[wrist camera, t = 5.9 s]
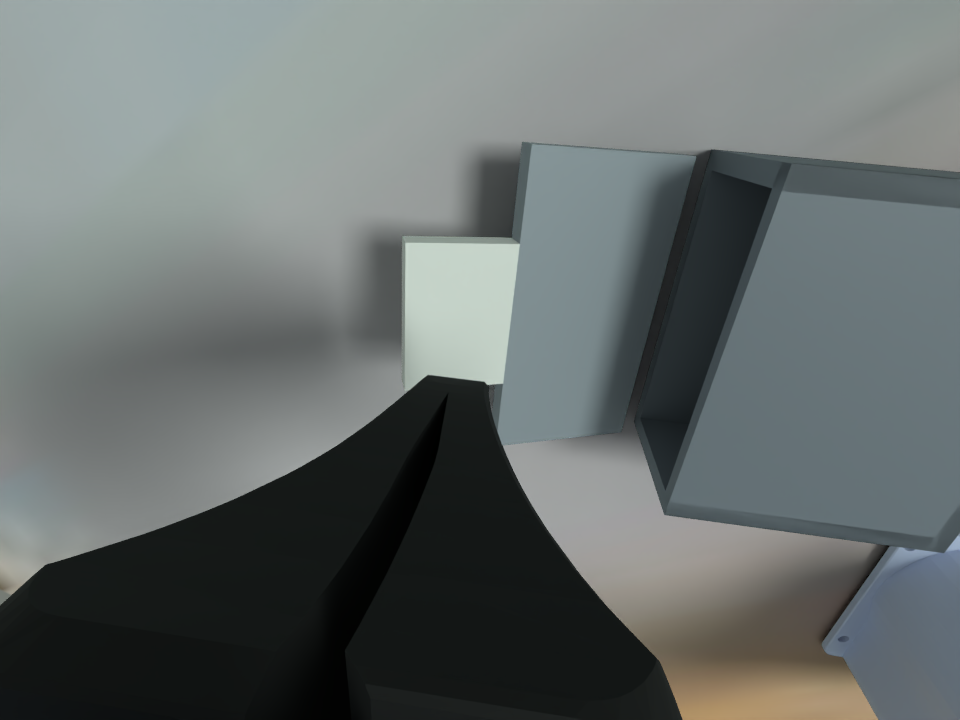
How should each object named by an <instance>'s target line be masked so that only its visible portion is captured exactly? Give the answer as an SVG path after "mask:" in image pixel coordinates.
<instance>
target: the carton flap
mask: <svg viewBox="0 0 960 720" xmlns="http://www.w3.org/2000/svg"><path fill="white" fill-rule="evenodd" d="M695 160H696V156H691V155H684V154H675V153H662V152H649V151H635V150H622V149H609V148H596V147H582V146H569V145H556V144H542V143H529V142H522V148H521V157H520V166H519V175H518V184H517V193H516V202H515V211H514V220H513V229H512V238H504V237H442V236H402V382H403V386H404V390H405V391H409V390H410V389H411V388H413V387H414V386H415V385H416V384H417V383H418V382H419V381H421V380H422V379H423V378H424V377H426V376H427V375H434V376H442V377H450V378H459V379H467V380H475V381H483V382H485V383H486V384H487V385H492V384H495V391H494V400H493V409H492V416H493V419H494V423H495V426H496V429H497V432H498V435H499V437H500V440H501V443H502V445H510V444H519V443H528V442H537V441H546V440H555V439H564V438H573V437H582V436H591V435H600V434H609V433H618V432H621V431H622V428H623V424H624V420H625V417H626V413H627V409H628V406H629V402H630V398H631V395H632V391H633V387H634V384H635V380H636V376H637V373H638V369H639V365H640V362H641V358H642V354H643V351H644V347H645V343H646V340H647V336H648V332H649V329H650V325H651V321H652V318H653V314H654V310H655V307H656V303H657V299H658V296H659V292H660V288H661V285H662V281H663V277H664V274H665V270H666V266H667V263H668V259H669V255H670V252H671V248H672V244H673V241H674V237H675V233H676V230H677V226H678V222H679V219H680V215H681V211H682V208H683V204H684V200H685V197H686V193H687V189H688V186H689V182H690V178H691V175H692V171H693V167H694V164H695Z"/></svg>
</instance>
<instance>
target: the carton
mask: <svg viewBox="0 0 960 720" xmlns="http://www.w3.org/2000/svg"><path fill="white" fill-rule="evenodd" d="M634 422H635V426H636V429H637V432H638V435H639V438H640V441H641V444H642V447H643V450H644V453H645V456H646V460H647V463H648V466H649V469H650V472H651V475H652V478H653V481H654V484H655V487H656V491H657V494H658V497H659V500H660V503H661V506H662V509H663V512H664V515H669V516H676V517H683V518H691V519H698V520H705V521H712V522H720V523H727V524H734V525H742V526H749V527H756V528H763V529H771V530H778V531H785V532H793V533H800V534H807V535H815V536H822V537H829V538H836V539H844V540H851V541H858V542H866V543H873V544H880V545H887V546H895V547H902V548H909V549H917V550H924V551H931V552H938V553H945V551H946V550H947V549H948V548H949V546H950V545H951V544H952V542H953V541H954V540H955V539H956V537H957V536H958V535H959V534H960V172H950V171H939V170H928V169H917V168H907V167H896V166H885V165H874V164H863V163H852V162H842V161H831V160H820V159H809V158H798V157H788V156H777V155H766V154H755V153H744V152H734V151H723V150H711V154H710V157H709V161H708V164H707V168H706V171H705V175H704V178H703V182H702V185H701V189H700V192H699V196H698V199H697V203H696V206H695V210H694V213H693V217H692V220H691V224H690V227H689V231H688V234H687V238H686V241H685V245H684V248H683V252H682V255H681V259H680V262H679V266H678V269H677V273H676V276H675V280H674V283H673V287H672V290H671V294H670V297H669V301H668V304H667V308H666V311H665V315H664V319H663V322H662V326H661V329H660V333H659V336H658V340H657V343H656V347H655V350H654V354H653V357H652V361H651V364H650V368H649V371H648V375H647V378H646V382H645V385H644V389H643V392H642V396H641V399H640V403H639V406H638V410H637V413H636V417H635V420H634Z"/></svg>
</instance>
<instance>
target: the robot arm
mask: <svg viewBox="0 0 960 720" xmlns="http://www.w3.org/2000/svg"><path fill="white" fill-rule="evenodd" d="M822 647H823V649H824V651H825V652H826V653H827V654H829V655H833V656H840V657H843V658H844V660H845V662H846V664H847V665H848V667H849V669H850V671H851V672H852V674H853V676H854V678H855V679H856V681H857V683H858V685H859V686H860V688H861V690H862V692H863V693H864V695H865V697H866V699H867V700H868V702H869V704H870V706H871V708H872V709H873V711H874V713H875V715H876V716H877V718H878V720H960V534H959V535H958V536H957V537H956V539H955V540H954V541H953V542H952V544H951V545H950V546H949V548H948V549H947V550H946V551H945V553H938V552H931V551H924V550H917V549H909V548H902V547H895V546H890V547H889V548H888V549H887V551H886V552H885V554H884V555H883V557H882V558H881V559H880V561H879V562H878V564H877V565H876V567H875V568H874V569H873V571H872V572H871V574H870V575H869V577H868V578H867V579H866V581H865V582H864V584H863V585H862V586H861V588H860V589H859V591H858V592H857V594H856V595H855V596H854V598H853V599H852V601H851V602H850V604H849V605H848V606H847V608H846V609H845V611H844V612H843V614H842V615H841V616H840V618H839V619H838V621H837V622H836V624H835V625H834V626H833V628H832V629H831V631H830V632H829V633H828V635H827V636H826V638H825V639H824V641H823V642H822ZM0 720H682V717H681V714H680V711H679V709H678V706H677V703H676V700H675V698H674V695H673V693H672V690H671V688H670V685H669V683H668V680H667V678H666V675H665V673H664V671H663V668H662V666H661V664H660V662H659V660H658V659H657V658H656V657H655V656H654V655H653V654H652V653H651V652H650V651H649V650H648V649H647V648H646V647H645V646H644V645H643V644H642V643H641V642H640V641H639V640H638V639H637V637H636V636H635V635H634V634H633V633H632V632H631V631H630V630H629V629H628V628H627V627H626V626H625V625H624V624H623V623H622V622H621V621H620V620H619V619H618V618H617V617H616V616H615V615H614V614H613V612H612V611H611V610H610V609H609V608H608V607H607V606H606V605H605V604H604V602H603V601H602V600H601V599H600V598H599V596H598V595H597V594H596V593H595V592H594V590H593V589H592V588H591V587H590V586H589V584H588V583H587V582H586V581H585V580H584V578H583V577H582V576H581V575H580V574H579V572H578V571H577V570H576V568H575V567H574V566H573V564H572V563H571V562H570V560H569V559H568V557H567V556H566V555H565V553H564V552H563V551H562V549H561V548H560V547H559V545H558V544H557V543H556V541H555V540H554V538H553V537H552V536H551V534H550V533H549V532H548V530H547V529H546V527H545V526H544V524H543V522H542V521H541V519H540V518H539V516H538V514H537V513H536V511H535V510H534V508H533V507H532V505H531V503H530V501H529V500H528V498H527V496H526V494H525V493H524V491H523V489H522V487H521V485H520V483H519V481H518V479H517V477H516V475H515V473H514V471H513V469H512V467H511V465H510V462H509V460H508V458H507V456H506V453H505V451H504V448H503V446H502V443H501V440H500V437H499V435H498V432H497V429H496V426H495V423H494V419H493V416H492V411H491V407H490V402H489V386H488V385H487V384H486V383H485V382H483V381H475V380H467V379H459V378H450V377H442V376H434V375H427V376H426V377H424V378H423V379H422V380H421V381H419V382H418V383H417V384H416V385H415V386H414V387H413V388H411V389H410V390H409V391H408V392H407V393H406V394H404V395H403V396H402V397H401V398H400V399H399V400H397V401H396V402H395V403H394V404H393V405H391V406H390V407H389V408H388V409H386V410H385V411H384V412H382V413H381V414H380V415H379V416H377V417H376V418H375V419H374V420H372V421H371V422H370V423H368V424H367V425H366V426H364V427H363V428H362V429H360V430H359V431H357V432H356V433H354V434H353V435H352V436H350V437H349V438H347V439H346V440H344V441H343V442H342V443H340V444H339V445H337V446H336V447H334V448H332V449H331V450H329V451H328V452H326V453H324V454H323V455H321V456H319V457H317V458H316V459H314V460H312V461H310V462H309V463H307V464H305V465H303V466H302V467H300V468H298V469H296V470H294V471H292V472H290V473H289V474H287V475H285V476H282V477H280V478H278V479H276V480H274V481H272V482H270V483H268V484H266V485H264V486H261V487H259V488H257V489H255V490H253V491H251V492H249V493H247V494H245V495H243V496H240V497H238V498H236V499H234V500H231V501H229V502H227V503H224V504H222V505H219V506H217V507H215V508H212V509H210V510H207V511H205V512H202V513H200V514H197V515H195V516H192V517H189V518H187V519H184V520H181V521H179V522H176V523H174V524H171V525H168V526H166V527H163V528H160V529H157V530H154V531H151V532H149V533H146V534H143V535H140V536H137V537H133V538H130V539H127V540H124V541H121V542H118V543H115V544H112V545H108V546H105V547H102V548H99V549H96V550H93V551H90V552H86V553H83V554H80V555H77V556H74V557H71V558H68V559H64V560H61V561H57V562H54V563H50V564H47V565H45V566H44V567H43V568H41V569H40V570H39V571H38V572H37V573H36V574H35V575H33V576H32V577H31V578H30V579H29V580H28V581H27V582H26V583H24V584H23V585H22V586H21V587H20V588H19V589H18V590H17V591H16V592H15V593H13V594H12V595H11V596H10V597H9V598H8V599H7V600H6V601H5V602H4V603H2V604H1V605H0Z"/></svg>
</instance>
